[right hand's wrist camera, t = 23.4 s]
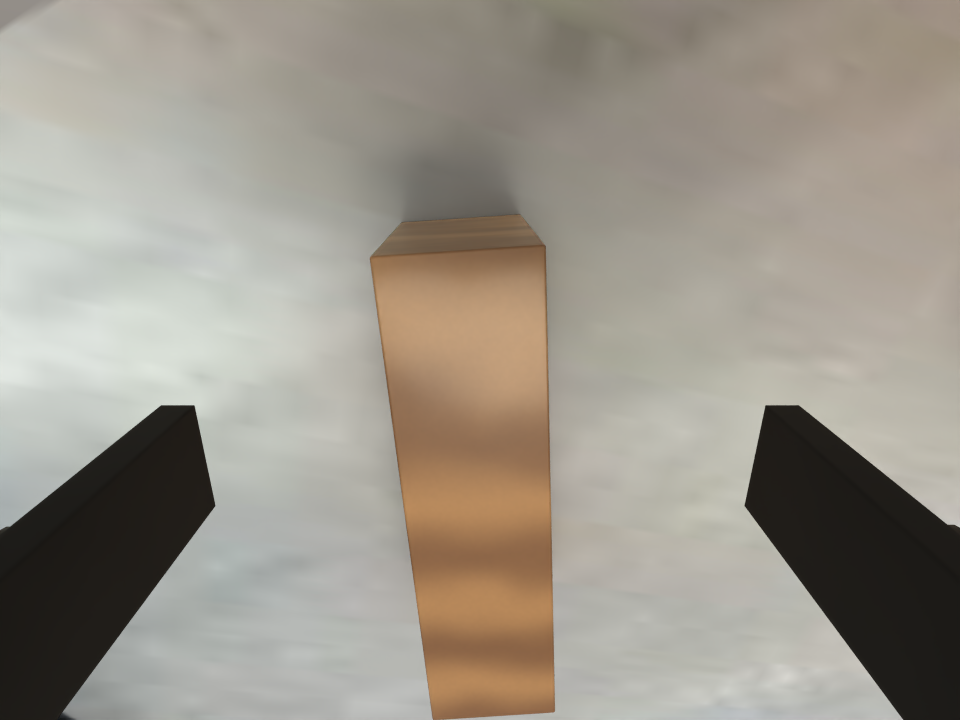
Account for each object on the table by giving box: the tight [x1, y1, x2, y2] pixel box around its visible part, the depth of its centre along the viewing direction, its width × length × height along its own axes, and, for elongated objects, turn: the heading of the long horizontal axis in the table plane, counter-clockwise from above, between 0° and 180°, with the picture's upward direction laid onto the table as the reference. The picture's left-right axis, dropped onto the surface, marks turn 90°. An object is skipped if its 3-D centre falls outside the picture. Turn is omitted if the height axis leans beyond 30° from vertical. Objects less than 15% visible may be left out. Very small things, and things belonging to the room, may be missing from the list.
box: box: [370, 215, 555, 720], centre depth 28 cm, size 24×6×10 cm, turn 4°
